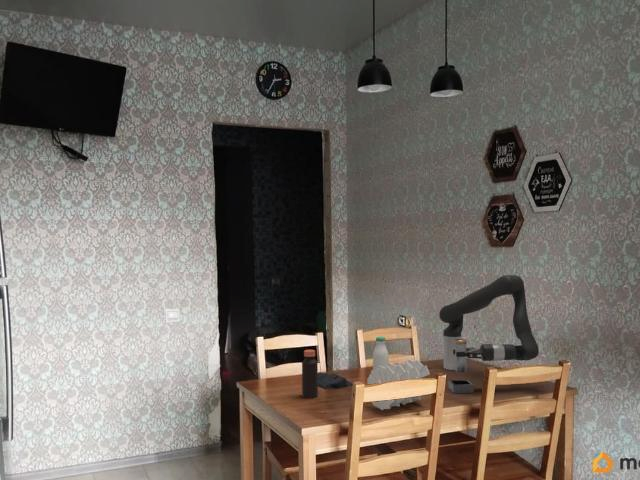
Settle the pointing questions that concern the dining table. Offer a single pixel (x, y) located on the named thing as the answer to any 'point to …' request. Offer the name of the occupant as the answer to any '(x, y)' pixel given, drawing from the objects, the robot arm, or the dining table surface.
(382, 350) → the milk bottle
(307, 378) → the vinegar
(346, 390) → the dining table surface
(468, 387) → the socket
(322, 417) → the dining table surface
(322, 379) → the dark slate chunk
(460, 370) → the grey cylinder
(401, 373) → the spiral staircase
